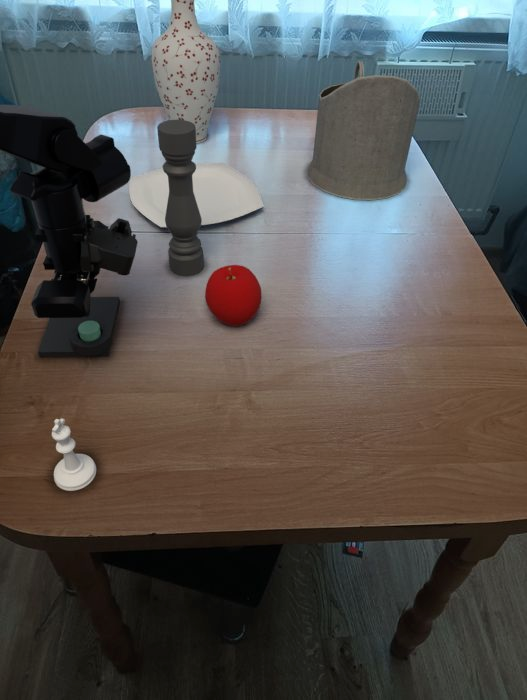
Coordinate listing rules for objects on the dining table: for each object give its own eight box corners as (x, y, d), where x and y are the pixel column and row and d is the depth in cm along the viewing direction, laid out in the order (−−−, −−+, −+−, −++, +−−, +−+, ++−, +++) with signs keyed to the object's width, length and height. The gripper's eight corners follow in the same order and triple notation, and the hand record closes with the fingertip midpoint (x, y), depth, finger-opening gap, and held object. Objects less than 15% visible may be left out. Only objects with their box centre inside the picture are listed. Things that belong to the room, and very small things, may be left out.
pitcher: (310, 198, 118) (323, 75, 101) (302, 139, 141) (311, 31, 124) (415, 201, 118) (446, 80, 101) (390, 143, 141) (412, 35, 124)
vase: (221, 126, 146) (219, -31, 122) (221, 151, 134) (218, -18, 110) (161, 124, 145) (146, -34, 121) (155, 150, 133) (138, -20, 109)
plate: (228, 164, 129) (228, 156, 127) (279, 218, 111) (280, 209, 110) (116, 183, 120) (115, 174, 118) (152, 244, 102) (151, 235, 101)
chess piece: (104, 463, 66) (89, 410, 60) (81, 496, 63) (63, 444, 56) (69, 451, 68) (50, 398, 61) (45, 483, 64) (23, 431, 57)
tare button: (99, 341, 78) (97, 333, 77) (78, 341, 78) (76, 334, 77) (102, 328, 81) (100, 320, 80) (82, 328, 80) (80, 320, 79)
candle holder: (196, 253, 101) (188, 116, 83) (209, 271, 97) (203, 131, 79) (164, 261, 98) (149, 122, 81) (176, 279, 94) (163, 137, 77)
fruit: (198, 305, 89) (195, 254, 83) (248, 293, 92) (249, 243, 85) (217, 340, 83) (216, 288, 77) (270, 326, 86) (273, 275, 79)
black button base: (110, 361, 79) (107, 346, 77) (38, 362, 79) (32, 347, 77) (123, 302, 89) (120, 287, 87) (58, 302, 89) (54, 287, 87)
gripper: (117, 260, 60) (135, 360, 71) (136, 182, 73) (149, 276, 84) (14, 260, 59) (48, 361, 70) (52, 181, 73) (76, 276, 83)
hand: (85, 315), depth 77 cm, fingers closed
